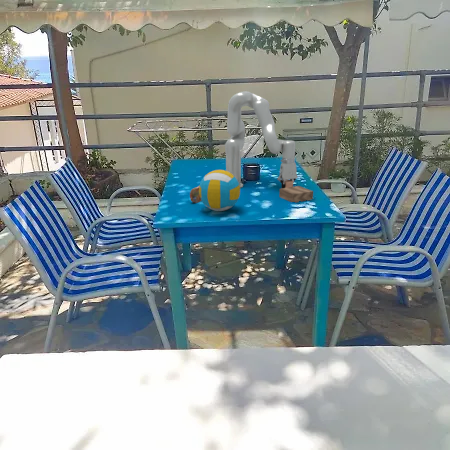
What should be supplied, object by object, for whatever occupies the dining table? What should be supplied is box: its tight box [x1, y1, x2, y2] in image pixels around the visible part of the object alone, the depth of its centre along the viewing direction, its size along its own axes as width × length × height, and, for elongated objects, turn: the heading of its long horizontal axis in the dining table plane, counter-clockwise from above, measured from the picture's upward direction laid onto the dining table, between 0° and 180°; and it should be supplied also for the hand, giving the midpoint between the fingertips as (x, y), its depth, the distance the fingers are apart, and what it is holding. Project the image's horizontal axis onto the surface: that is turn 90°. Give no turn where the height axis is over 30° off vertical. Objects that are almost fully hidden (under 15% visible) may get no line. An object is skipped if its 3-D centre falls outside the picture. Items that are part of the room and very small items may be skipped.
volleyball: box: [198, 169, 241, 212], centre depth 220 cm, size 22×22×22 cm
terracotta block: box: [285, 179, 294, 188], centre depth 261 cm, size 5×5×6 cm
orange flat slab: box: [189, 185, 202, 204], centre depth 240 cm, size 15×3×8 cm, turn 148°
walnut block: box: [279, 185, 314, 203], centre depth 244 cm, size 14×14×5 cm
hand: (287, 188), depth 262 cm, fingers closed on terracotta block, 5 cm apart
